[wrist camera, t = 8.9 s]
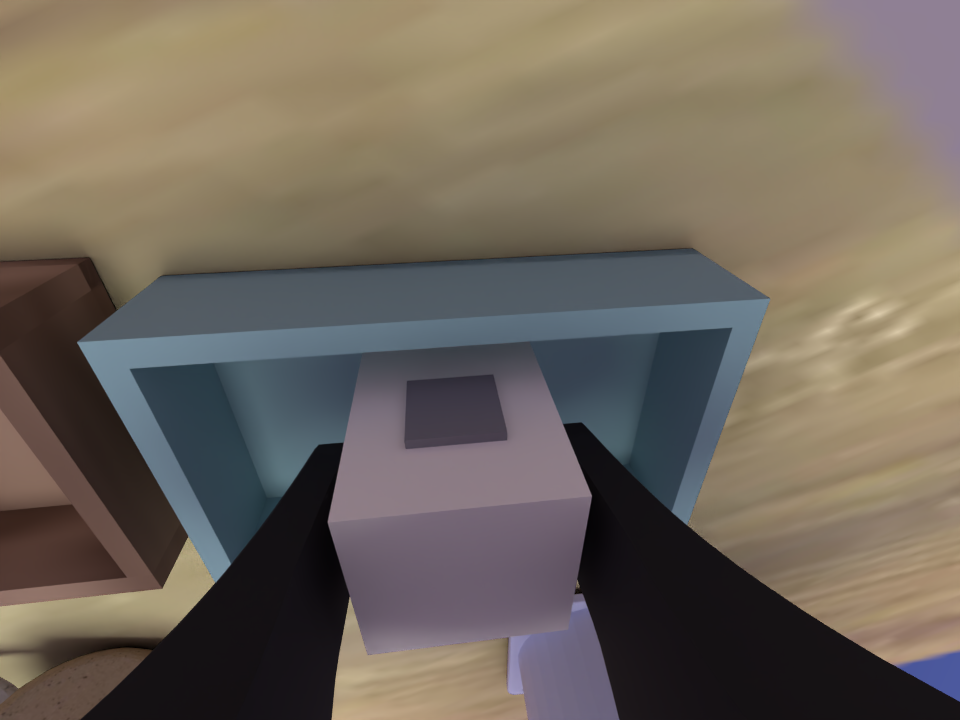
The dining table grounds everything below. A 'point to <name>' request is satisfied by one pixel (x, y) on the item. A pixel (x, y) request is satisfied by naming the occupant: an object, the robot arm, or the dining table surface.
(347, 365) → the teal tray
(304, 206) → the dining table surface
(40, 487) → the walnut tray
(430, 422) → the letter block
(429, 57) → the dining table surface
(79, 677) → the ceramic mug
